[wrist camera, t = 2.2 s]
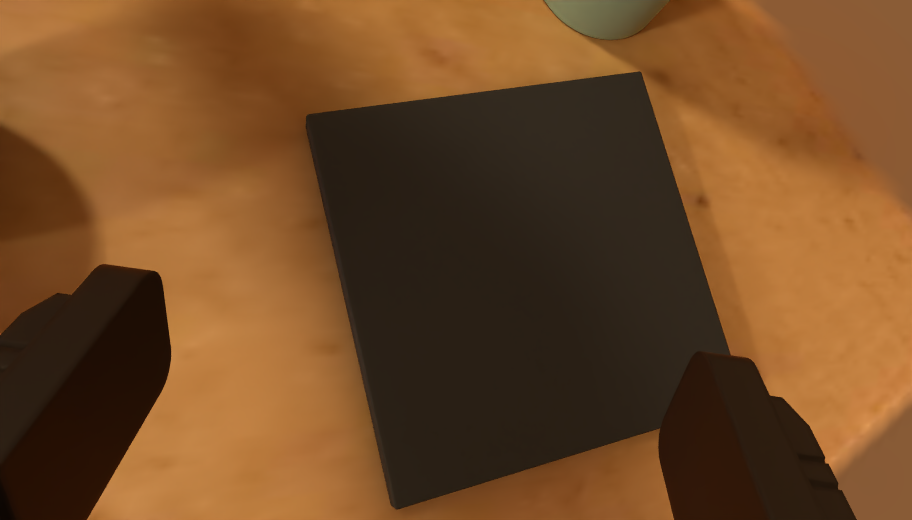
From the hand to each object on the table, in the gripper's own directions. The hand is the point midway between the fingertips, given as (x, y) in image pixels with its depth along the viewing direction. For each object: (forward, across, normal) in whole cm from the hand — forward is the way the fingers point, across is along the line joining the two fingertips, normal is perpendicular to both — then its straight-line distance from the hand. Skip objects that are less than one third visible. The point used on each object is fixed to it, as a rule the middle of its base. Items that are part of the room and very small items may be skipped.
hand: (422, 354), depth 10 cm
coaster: (+14, -4, +7) cm, 16 cm away
